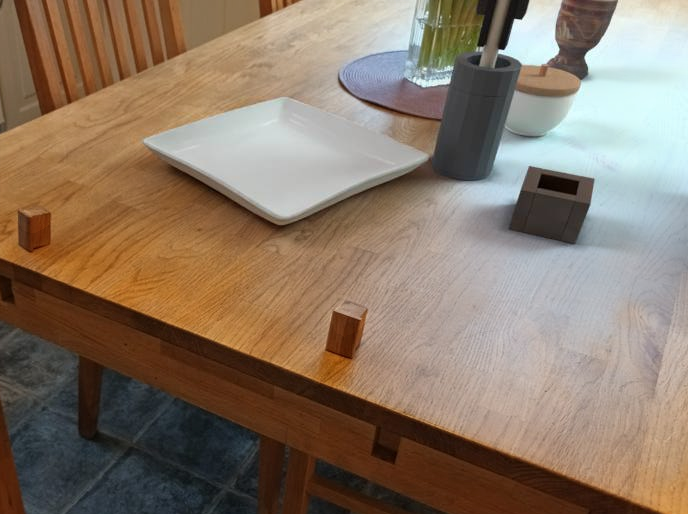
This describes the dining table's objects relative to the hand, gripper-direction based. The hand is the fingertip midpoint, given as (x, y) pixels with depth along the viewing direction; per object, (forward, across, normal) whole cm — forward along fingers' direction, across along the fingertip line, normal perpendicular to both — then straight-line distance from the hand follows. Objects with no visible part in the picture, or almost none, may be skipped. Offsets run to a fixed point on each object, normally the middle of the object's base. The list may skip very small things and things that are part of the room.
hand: (492, 45), depth 87 cm
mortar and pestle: (+16, +9, +52) cm, 55 cm away
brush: (+13, 0, 0) cm, 13 cm away
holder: (+16, +12, -11) cm, 23 cm away
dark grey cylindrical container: (+16, 0, 0) cm, 16 cm away
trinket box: (+16, +6, +19) cm, 26 cm away
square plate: (+16, -21, -13) cm, 29 cm away
